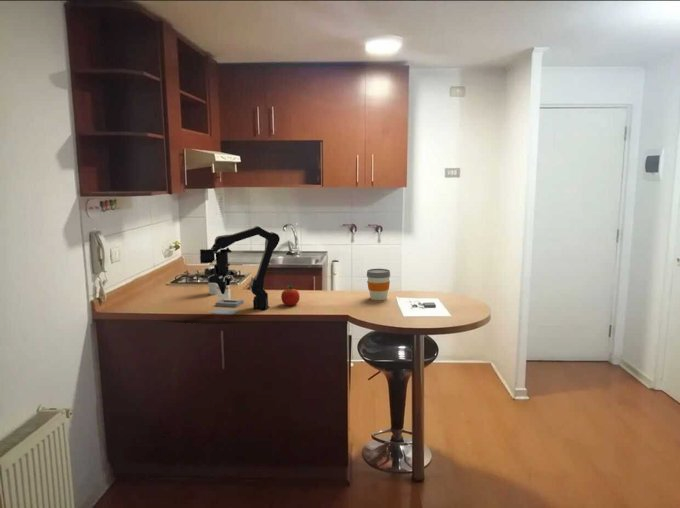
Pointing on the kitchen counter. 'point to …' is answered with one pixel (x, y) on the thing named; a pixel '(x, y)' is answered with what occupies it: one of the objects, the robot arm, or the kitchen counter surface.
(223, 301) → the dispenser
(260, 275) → the robot arm
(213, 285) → the skincare box
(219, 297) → the tan banded white slab
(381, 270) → the reusable coffee cup
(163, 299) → the kitchen counter surface
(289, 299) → the fruit
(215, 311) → the mat
